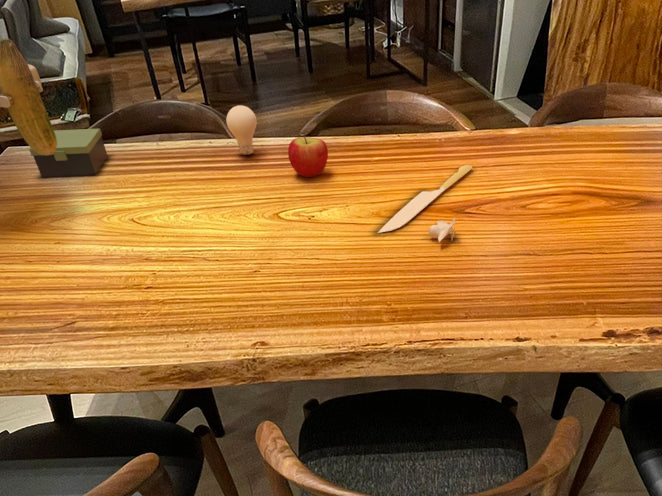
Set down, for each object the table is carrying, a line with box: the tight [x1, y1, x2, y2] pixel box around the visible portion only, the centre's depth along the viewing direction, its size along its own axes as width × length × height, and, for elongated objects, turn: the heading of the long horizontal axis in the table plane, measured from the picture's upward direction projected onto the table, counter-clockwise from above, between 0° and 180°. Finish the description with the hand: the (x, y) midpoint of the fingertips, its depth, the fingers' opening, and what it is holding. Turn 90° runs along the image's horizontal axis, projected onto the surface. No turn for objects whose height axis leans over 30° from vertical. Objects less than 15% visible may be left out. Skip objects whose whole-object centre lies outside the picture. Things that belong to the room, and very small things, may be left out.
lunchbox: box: [28, 128, 109, 178], centre depth 140 cm, size 12×11×6 cm
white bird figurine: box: [428, 217, 457, 243], centre depth 112 cm, size 8×5×5 cm, turn 177°
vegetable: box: [0, 37, 57, 155], centre depth 111 cm, size 6×6×20 cm
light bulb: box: [225, 104, 258, 156], centre depth 140 cm, size 7×7×11 cm
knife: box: [377, 164, 473, 234], centre depth 125 cm, size 1×34×5 cm
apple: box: [287, 129, 329, 178], centre depth 132 cm, size 8×8×10 cm
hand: (25, 94), depth 110 cm, fingers closed on vegetable, 6 cm apart
